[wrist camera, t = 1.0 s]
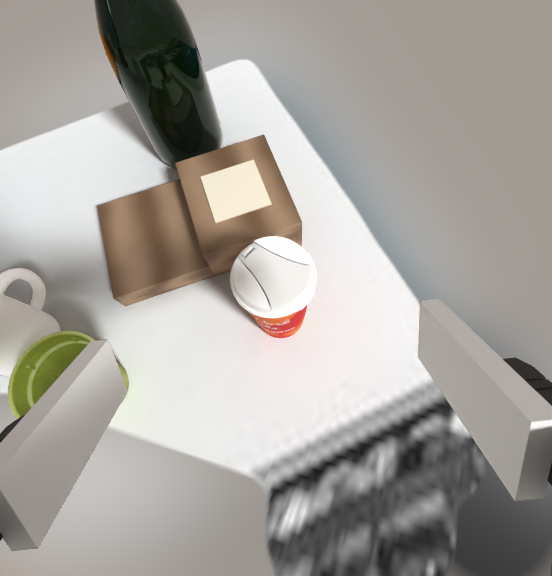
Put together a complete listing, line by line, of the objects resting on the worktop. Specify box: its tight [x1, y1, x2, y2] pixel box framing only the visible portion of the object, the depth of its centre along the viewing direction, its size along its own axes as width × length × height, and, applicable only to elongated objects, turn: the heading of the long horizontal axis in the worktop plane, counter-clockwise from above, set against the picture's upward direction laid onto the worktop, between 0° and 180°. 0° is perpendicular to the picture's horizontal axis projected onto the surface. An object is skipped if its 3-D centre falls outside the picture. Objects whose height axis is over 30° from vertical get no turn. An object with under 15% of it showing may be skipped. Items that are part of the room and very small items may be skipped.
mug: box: [0, 268, 61, 376], centre depth 39 cm, size 12×8×10 cm
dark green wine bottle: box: [94, 0, 223, 168], centre depth 38 cm, size 10×10×33 cm
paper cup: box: [230, 236, 316, 338], centre depth 36 cm, size 8×8×14 cm
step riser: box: [97, 135, 302, 306], centre depth 45 cm, size 24×14×6 cm, turn 109°
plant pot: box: [8, 331, 129, 419], centre depth 37 cm, size 9×9×9 cm
